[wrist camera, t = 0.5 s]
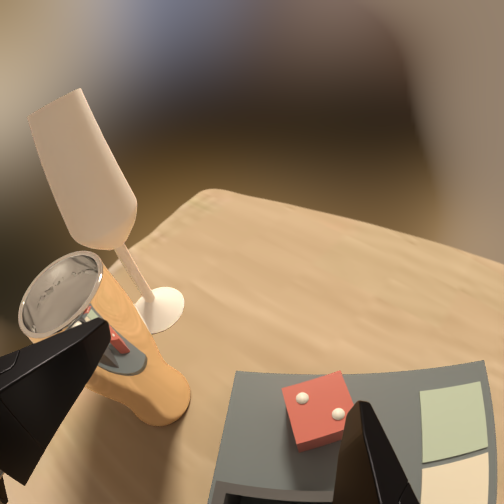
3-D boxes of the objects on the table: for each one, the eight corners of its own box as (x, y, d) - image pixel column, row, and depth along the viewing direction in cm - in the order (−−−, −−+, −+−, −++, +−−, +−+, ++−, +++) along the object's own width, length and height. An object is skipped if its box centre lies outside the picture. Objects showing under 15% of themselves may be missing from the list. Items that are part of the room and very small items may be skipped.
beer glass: (174, 352, 27) (95, 232, 17) (210, 405, 22) (118, 295, 12) (118, 386, 25) (17, 285, 15) (145, 443, 20) (16, 362, 10)
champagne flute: (157, 344, 28) (25, 117, 12) (121, 317, 31) (10, 127, 16) (196, 299, 32) (107, 75, 16) (157, 279, 35) (73, 91, 19)
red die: (352, 435, 17) (360, 422, 14) (298, 452, 17) (296, 443, 14) (336, 391, 20) (340, 369, 17) (285, 406, 20) (281, 387, 17)
